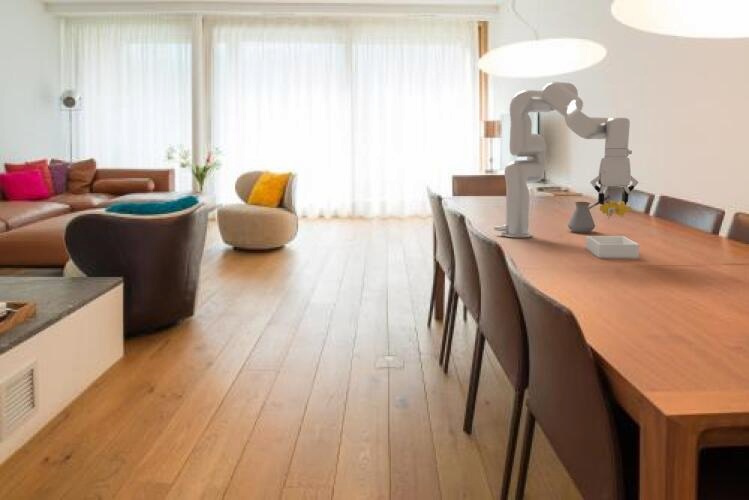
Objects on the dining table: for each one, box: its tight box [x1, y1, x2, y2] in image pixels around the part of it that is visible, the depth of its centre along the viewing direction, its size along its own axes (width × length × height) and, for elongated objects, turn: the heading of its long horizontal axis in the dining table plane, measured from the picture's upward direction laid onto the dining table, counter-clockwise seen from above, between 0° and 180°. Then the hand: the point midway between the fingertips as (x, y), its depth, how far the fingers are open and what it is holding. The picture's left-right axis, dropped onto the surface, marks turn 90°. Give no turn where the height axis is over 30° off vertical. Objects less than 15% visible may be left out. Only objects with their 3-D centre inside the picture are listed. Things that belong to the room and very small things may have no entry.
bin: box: [585, 235, 640, 260], centre depth 220 cm, size 13×17×5 cm
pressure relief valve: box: [599, 200, 631, 220], centre depth 213 cm, size 6×12×10 cm
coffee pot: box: [567, 195, 613, 234], centre depth 269 cm, size 21×12×15 cm, turn 113°
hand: (612, 203), depth 217 cm, fingers closed on pressure relief valve, 7 cm apart
